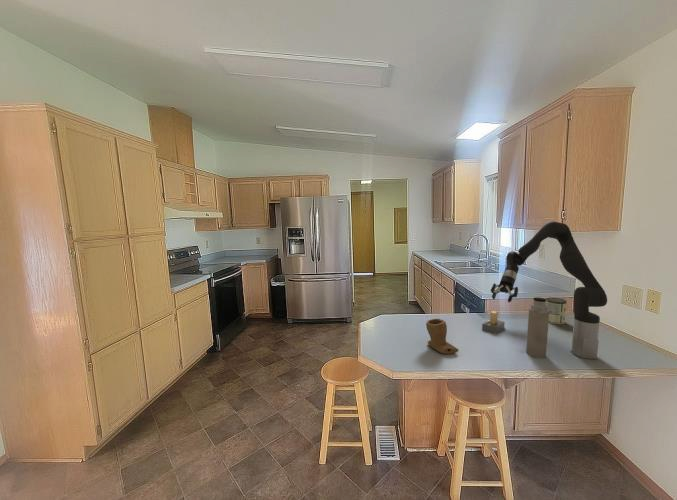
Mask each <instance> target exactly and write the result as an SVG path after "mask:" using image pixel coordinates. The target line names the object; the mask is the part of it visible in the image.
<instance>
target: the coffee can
mask: <svg viewBox="0 0 677 500" xmlns="http://www.w3.org/2000/svg"><path fill="white" fill-rule="evenodd" d="M545 299H546V301H545V302H546V305H547V306H548V311H549V321H548V323H550V324H554V325H565V324H566V314H567V313H566V308H567V300H566V299H564V298H559V297H545Z"/></svg>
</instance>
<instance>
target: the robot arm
mask: <svg viewBox="0 0 677 500" xmlns="http://www.w3.org/2000/svg"><path fill="white" fill-rule="evenodd" d="M548 238H549V239H555V240H557V241H558V243H559V245H560V247H561V250H560V253H559V261H560V262H561V264H562V267H563V269H565V271H566V272H567V273H568V274H569V275H571V276H572V277H574V278H576V279H577V280H578V281H579V282H580V283H581V284H582V285H583V286H579V287H576V288H575V289H574V292H573V299H572V300H573V301H572V304H573V305H572V307H573V310H572V311H573V325H572V328H573V329H572V340H571V341H572V342H571V353H572V354H573V355H575V356H577V357H579V358H581V359H589V360H597V359H598V350H599V332H600V331H599V329H600V320H601V318H600V316H599V314H596V313H593V312H590V307H591V308H592V307H594V308H599V307H600V308H602V307H605V306H606V305H607V304H608V296H607V294H606V291H605V290H604V288H603V287H602V286H601V284H600V283H599V281H598V279H597V278H596V277H595V276H594V274H593V273H592V270H590V268H589V266H588V264H587V262H586V260H585V258H584V256H583V255H582V253H581V251H580V249H579V247H578V246H577V244H576V242H575V239H574V237H573V234H572V232H571V229H570V227H569V225H567V224H565V223H564V222H559V221H552V220H551V221H548V222H545V224H544V225H542V227H541V228H540V229H539V230H538V231H537V232H536V233H535V234H534V235H533V237H532V238H531V239H530V240H529V241H528V242H525V244H524V245H522V246H520V248H519V249H518V251H517V252H516V251H514V250H511V251H509V252H508V253H507V255H506V259H505V261H506V264H505V266H506V267H505V269H504V272H503V273H502V276H501V279H500V282H499V284H496V283H493V284H492V285H491V288H490V292H491V293H492V296H491V298H492V300H495V299H496V297H497V294H500V293H504V294H509V296H508V298H507V302H508V303H510V302H512V300H513V298H517V297H518V294H519V287H518V286H516V287H515V286H514V285H515V282H516V280H517V277H518V273H519V269H520V268H519V266H522V265H524V263H525V262H526V261H527V259H528V258H529V257H531V256H532V255H533V254H535V253H536V252H537V251H538V250H539V248H540V245H541V243H542V242H543V241H544V240H546V239H548ZM512 291H514V292H513V293H512Z"/></svg>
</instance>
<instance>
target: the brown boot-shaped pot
mask: <svg viewBox="0 0 677 500" xmlns="http://www.w3.org/2000/svg"><path fill="white" fill-rule="evenodd" d="M425 326H426V330H427V333H428V335H429V337H430V340H428V341H427V344H428V345H429V346H430V347H431V348H433V349H434V350H436V351H437V352H439V353H441V354H445V355H452V354H456V353H459V349H458V348H457V347H455V346H454V345H453V344H451V343H449V342H448V341H447V333H448V332H447V331H448V329H447V328H448V327H447V323H446V320H444V319H440V318H431V319H429V320H427V321H426V323H425Z"/></svg>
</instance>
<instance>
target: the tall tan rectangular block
mask: <svg viewBox="0 0 677 500" xmlns="http://www.w3.org/2000/svg"><path fill="white" fill-rule="evenodd" d="M498 314H499V313H498V311H496V310H492V311H490V313H489V315H490V316H489V319H490V323H491V324H496V323H497V320H498Z"/></svg>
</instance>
